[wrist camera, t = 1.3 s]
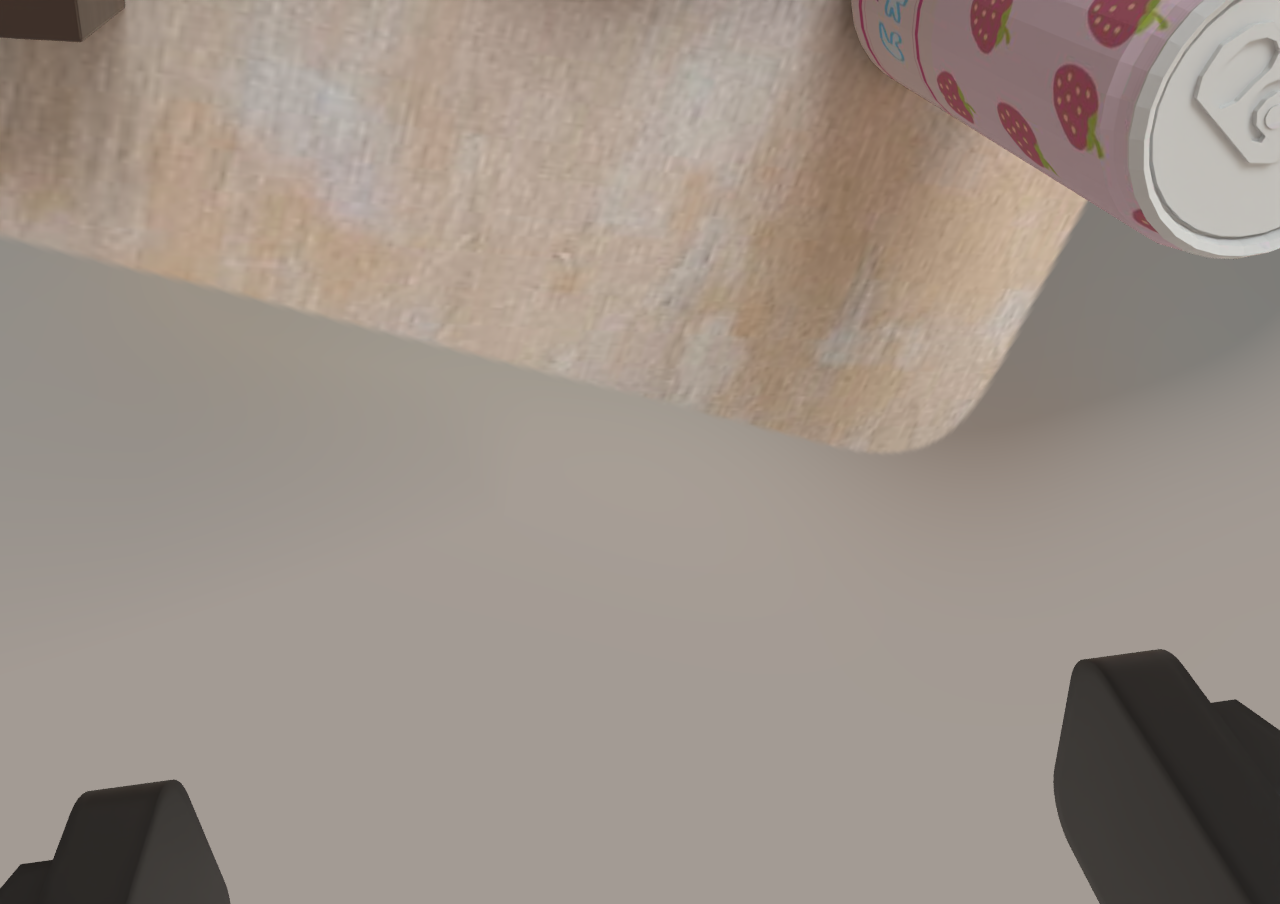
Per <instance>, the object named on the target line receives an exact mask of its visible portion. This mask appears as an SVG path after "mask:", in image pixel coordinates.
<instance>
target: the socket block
mask: <svg viewBox="0 0 1280 904" xmlns="http://www.w3.org/2000/svg"><path fill="white" fill-rule="evenodd" d="M124 7H125V2H124V0H0V38H15V39H33V40H51V41H69V42H82V41H83V40H85V39H86V38H87V37H88V36H90V35H91V34H92V33H93V32H95V31H96V30H97V29H98V28H100V27H101V26H102V25H103V24H105V23H106V22H107V21H108V20H110V19H111V18H112V17H113V16H115V15H116V14H117V13H118V12H120V11H121V10H122V9H123V8H124Z"/></svg>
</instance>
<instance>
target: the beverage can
mask: <svg viewBox="0 0 1280 904" xmlns="http://www.w3.org/2000/svg"><path fill="white" fill-rule="evenodd" d="M851 5H852V13H853V22H854V26H855V29H856V32H857V35H858V38H859V41H860V43H861V45H862V47H863V48H864V50H865V52H866V53H867V55H868V57H869V58H870V60H871V61H872V62H873V63H874V64H875V65H876V66H877V67H878V68H879V69H880V70H881V71H882V72H883V73H884V74H886V75H887V76H889V77H890V78H892V79H894V80H895V81H897V82H898V83H900V84H902V85H903V86H905V87H907V88H908V89H910V90H911V91H913V92H915V93H916V94H918V95H919V96H921V97H923V98H924V99H926V100H927V101H929V102H931V103H932V104H934V105H935V106H937V107H939V108H940V109H942V110H943V111H945V112H947V113H948V114H950V115H951V116H953V117H955V118H956V119H958V120H960V121H961V122H963V123H964V124H966V125H968V126H969V127H971V128H972V129H974V130H976V131H977V132H979V133H980V134H982V135H984V136H985V137H987V138H988V139H990V140H992V141H993V142H995V143H996V144H998V145H1000V146H1001V147H1003V148H1004V149H1006V150H1008V151H1009V152H1011V153H1013V154H1014V155H1016V156H1017V157H1019V158H1021V159H1022V160H1024V161H1025V162H1027V163H1029V164H1030V165H1032V166H1033V167H1035V168H1037V169H1038V170H1040V171H1041V172H1043V173H1045V174H1046V175H1048V176H1049V177H1051V178H1053V179H1054V180H1056V181H1058V182H1059V183H1061V184H1062V185H1064V186H1066V187H1067V188H1069V189H1070V190H1072V191H1074V192H1075V193H1077V194H1078V195H1080V196H1082V197H1083V198H1085V199H1086V200H1088V201H1090V202H1091V203H1093V204H1095V205H1096V206H1098V207H1099V208H1101V209H1102V210H1104V211H1106V212H1107V213H1109V214H1111V215H1112V216H1114V217H1115V218H1117V219H1119V220H1120V221H1122V222H1123V223H1125V224H1127V225H1128V226H1130V227H1131V228H1133V229H1135V230H1136V231H1138V232H1140V233H1141V234H1143V235H1145V236H1146V237H1148V238H1150V239H1151V240H1153V241H1155V242H1156V243H1158V244H1162V245H1165V246H1169V247H1172V248H1176V249H1179V250H1183V251H1186V252H1189V253H1193V254H1196V255H1200V256H1203V257H1207V258H1224V259H1225V258H1226V259H1237V258H1242V257H1248V256H1254V255H1259V254H1264V253H1268V252H1271V251H1273V250H1276V249H1279V248H1280V0H851Z"/></svg>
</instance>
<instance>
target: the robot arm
mask: <svg viewBox="0 0 1280 904" xmlns="http://www.w3.org/2000/svg"><path fill="white" fill-rule="evenodd" d="M1054 795H1055V802H1056V807H1057V812H1058V815H1059V819H1060V822H1061V826H1062V828H1063V831H1064V833H1065V836H1066V839H1067V841H1068V843H1069V845H1070V847H1071V849H1072V851H1073V853H1074V855H1075V857H1076V858H1077V861H1078V863H1079V864H1080V866H1081V868H1082V870H1083V872H1084V874H1085V876H1086V878H1087V880H1088V882H1089V883H1090V886H1091V888H1092V890H1093V891H1094V893H1095V895H1096V897H1097V899H1098V901H1099V903H1100V904H1280V730H1278V729H1277V728H1276V727H1274V726H1273V725H1271V724H1270V723H1268V722H1267V721H1266V720H1264V719H1263V718H1261V717H1260V716H1259V715H1257V714H1256V713H1254V712H1253V711H1252V710H1250V709H1249V708H1247V707H1246V706H1244V705H1243V704H1242V703H1240V702H1239V701H1237V700H1228V701H1222V702H1214V703H1210V701H1209V700H1208V699H1207V697H1206V696H1205V695H1204V693H1203V692H1202V691H1201V689H1200V688H1199V687H1198V685H1197V684H1196V683H1195V681H1194V680H1193V679H1192V677H1191V676H1190V674H1189V673H1188V672H1187V670H1186V669H1185V668H1184V666H1183V665H1182V664H1181V662H1180V661H1179V660H1178V659H1177V658H1176V657H1175V656H1174V655H1173V654H1171V653H1170V652H1168V651H1166V650H1162V649H1158V650H1151V651H1143V652H1136V653H1128V654H1121V655H1114V656H1107V657H1099V658H1092V659H1084V660H1080V661H1079V662H1078V663H1077V664H1076V665H1075V667H1074V669H1073V672H1072V676H1071V680H1070V686H1069V691H1068V697H1067V703H1066V708H1065V714H1064V719H1063V725H1062V730H1061V736H1060V741H1059V747H1058V752H1057V758H1056V764H1055V769H1054ZM0 904H230V898H229V894H228V890H227V887H226V884H225V882H224V879H223V877H222V874H221V872H220V870H219V867H218V865H217V863H216V860H215V858H214V856H213V853H212V851H211V848H210V846H209V844H208V841H207V839H206V837H205V834H204V832H203V829H202V827H201V825H200V822H199V820H198V817H197V815H196V813H195V810H194V808H193V805H192V804H191V801H190V798H189V796H188V794H187V792H186V790H185V788H184V787H183V785H182V784H181V783H180V782H179V781H177V780H168V781H160V782H153V783H145V784H138V785H131V786H123V787H116V788H109V789H102V790H94V791H88V792H85V793H84V794H82V795H81V797H80V798H78V800H77V802H76V803H75V805H74V807H73V809H72V811H71V813H70V816H69V819H68V821H67V824H66V827H65V830H64V832H63V835H62V838H61V840H60V842H59V845H58V848H57V850H56V853H55V856H54V859H53V860H49V861H42V862H35V863H28V864H21V865H20V866H19V867H18V868H17V870H16V871H15V872H14V873H13V875H11V877H10V878H9V879H8V880H7V881H6V883H5V884H4V885H3V886H2V887H1V888H0Z"/></svg>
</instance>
